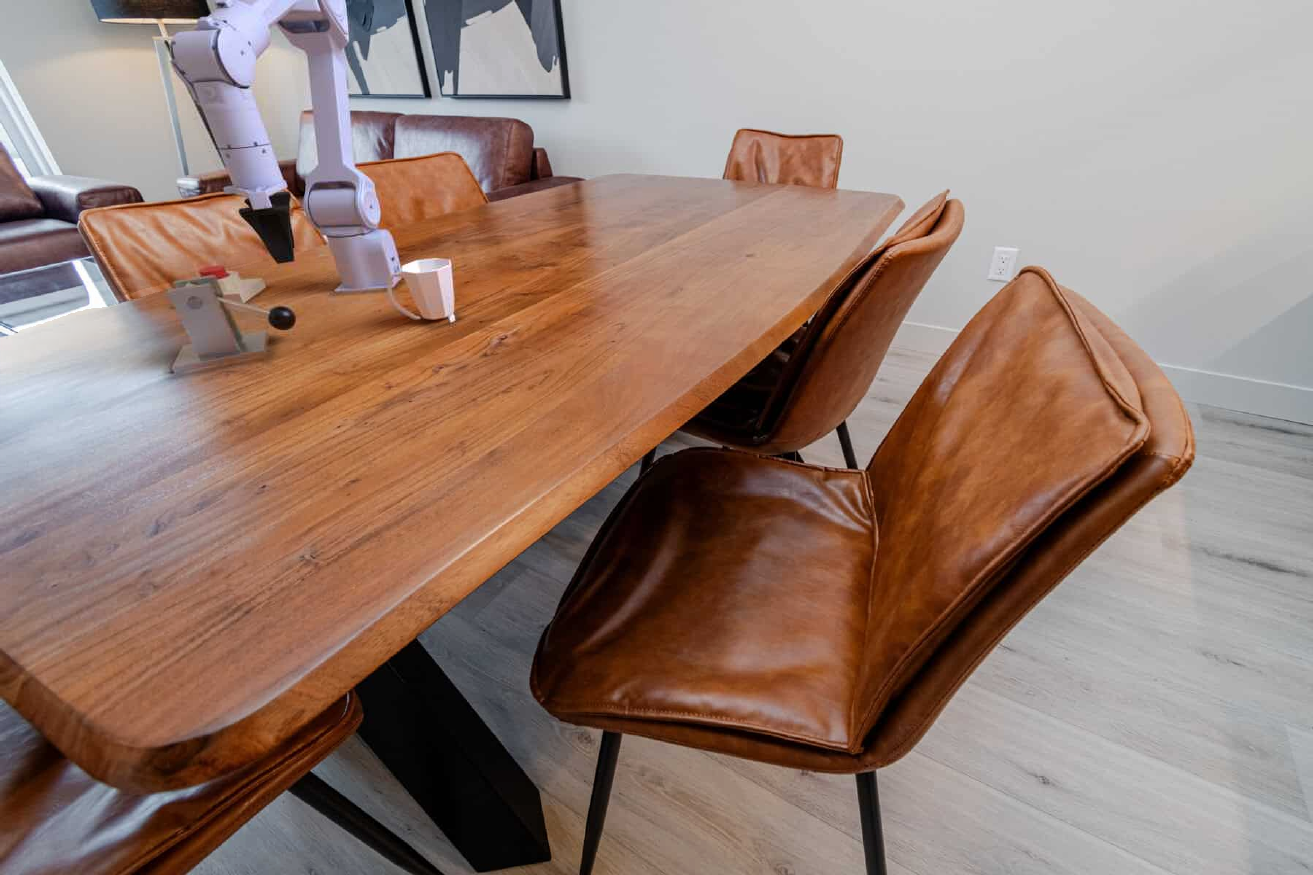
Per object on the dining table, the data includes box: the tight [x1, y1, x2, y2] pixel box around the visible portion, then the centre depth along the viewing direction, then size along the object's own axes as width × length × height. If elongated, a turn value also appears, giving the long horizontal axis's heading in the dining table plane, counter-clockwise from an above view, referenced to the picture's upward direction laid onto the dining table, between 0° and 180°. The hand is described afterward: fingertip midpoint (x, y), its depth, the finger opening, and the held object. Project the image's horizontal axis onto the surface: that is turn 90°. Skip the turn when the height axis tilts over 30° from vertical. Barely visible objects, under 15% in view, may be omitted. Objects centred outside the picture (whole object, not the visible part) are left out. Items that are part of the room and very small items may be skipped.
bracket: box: [166, 275, 270, 374], centre depth 76 cm, size 10×8×10 cm
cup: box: [386, 257, 456, 323], centre depth 84 cm, size 7×10×8 cm
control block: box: [198, 270, 266, 304], centre depth 99 cm, size 10×8×4 cm
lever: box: [185, 282, 297, 331], centre depth 77 cm, size 12×3×3 cm, turn 116°
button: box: [198, 265, 228, 280], centre depth 98 cm, size 4×4×2 cm
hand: (286, 255), depth 82 cm, fingers open, 7 cm apart
